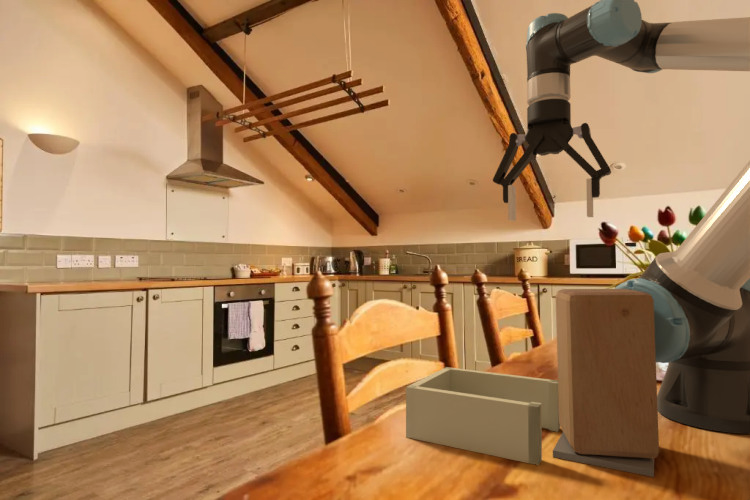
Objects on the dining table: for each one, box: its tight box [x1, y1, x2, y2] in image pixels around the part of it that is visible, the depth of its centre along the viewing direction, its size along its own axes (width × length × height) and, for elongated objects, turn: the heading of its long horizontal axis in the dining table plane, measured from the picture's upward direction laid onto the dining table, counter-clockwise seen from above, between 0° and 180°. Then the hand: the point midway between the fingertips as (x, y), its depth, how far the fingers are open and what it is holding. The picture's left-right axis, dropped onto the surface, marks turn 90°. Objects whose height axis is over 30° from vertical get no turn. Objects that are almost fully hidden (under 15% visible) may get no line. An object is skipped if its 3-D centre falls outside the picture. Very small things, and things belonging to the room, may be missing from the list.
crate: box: [405, 366, 561, 466], centre depth 68 cm, size 18×15×7 cm
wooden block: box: [555, 288, 660, 459], centre depth 62 cm, size 10×10×20 cm
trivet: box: [552, 432, 655, 478], centre depth 61 cm, size 11×11×1 cm
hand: (549, 218), depth 86 cm, fingers open, 13 cm apart
